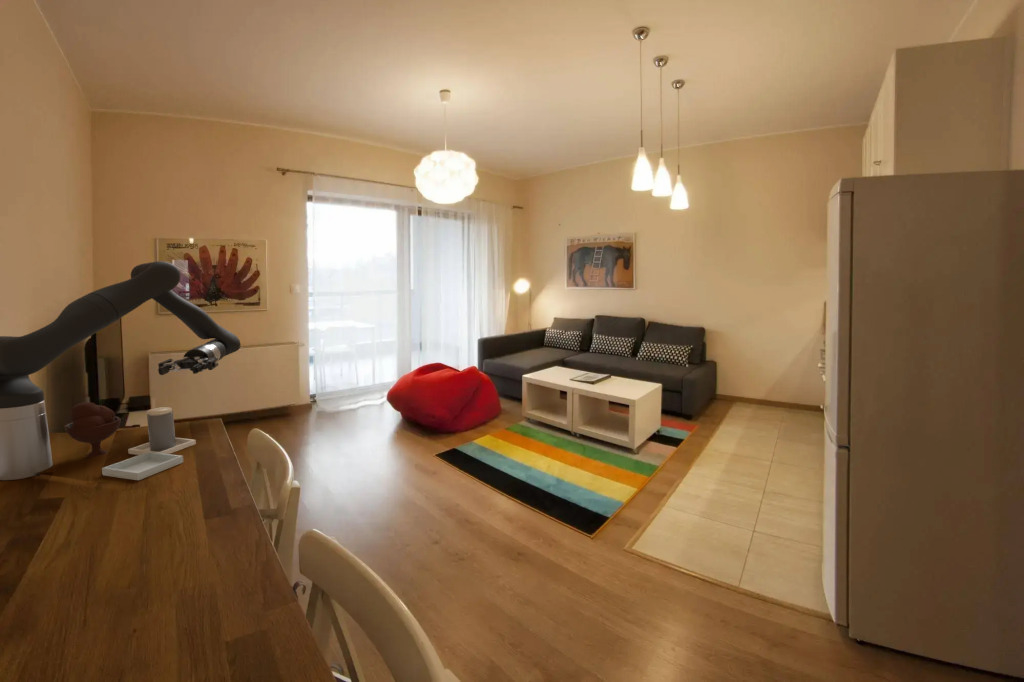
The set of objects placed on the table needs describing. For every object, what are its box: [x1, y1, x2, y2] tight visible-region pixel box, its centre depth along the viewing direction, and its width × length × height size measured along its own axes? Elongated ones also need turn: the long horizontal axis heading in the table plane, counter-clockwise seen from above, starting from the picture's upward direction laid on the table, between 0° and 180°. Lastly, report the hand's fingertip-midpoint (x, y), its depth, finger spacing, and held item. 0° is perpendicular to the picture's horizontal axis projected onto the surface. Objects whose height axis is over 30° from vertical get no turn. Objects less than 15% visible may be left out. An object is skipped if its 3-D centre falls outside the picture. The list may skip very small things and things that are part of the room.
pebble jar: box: [146, 406, 176, 452], centre depth 123 cm, size 6×6×11 cm
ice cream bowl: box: [63, 401, 122, 458], centre depth 119 cm, size 11×11×15 cm
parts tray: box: [127, 437, 197, 456], centre depth 124 cm, size 10×10×2 cm
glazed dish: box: [101, 452, 184, 481], centre depth 111 cm, size 11×11×2 cm
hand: (177, 371), depth 131 cm, fingers open, 8 cm apart
